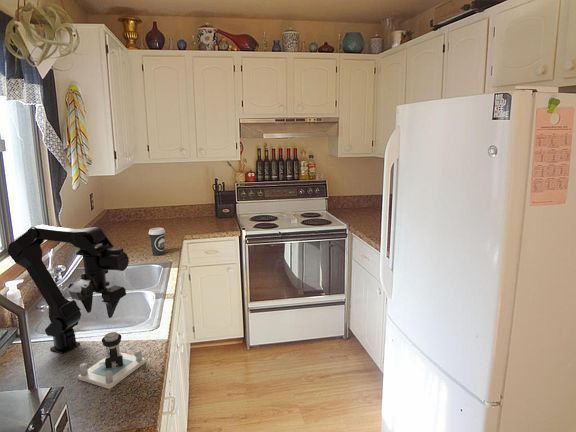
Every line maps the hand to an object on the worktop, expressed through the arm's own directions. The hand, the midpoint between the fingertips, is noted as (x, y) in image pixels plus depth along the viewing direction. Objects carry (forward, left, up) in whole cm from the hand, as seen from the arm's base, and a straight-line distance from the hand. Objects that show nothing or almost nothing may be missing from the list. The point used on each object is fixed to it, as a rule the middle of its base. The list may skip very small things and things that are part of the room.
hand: (99, 314), depth 126 cm
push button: (+11, -7, -12) cm, 17 cm away
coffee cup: (-54, +90, -13) cm, 106 cm away
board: (+11, -7, -13) cm, 18 cm away
